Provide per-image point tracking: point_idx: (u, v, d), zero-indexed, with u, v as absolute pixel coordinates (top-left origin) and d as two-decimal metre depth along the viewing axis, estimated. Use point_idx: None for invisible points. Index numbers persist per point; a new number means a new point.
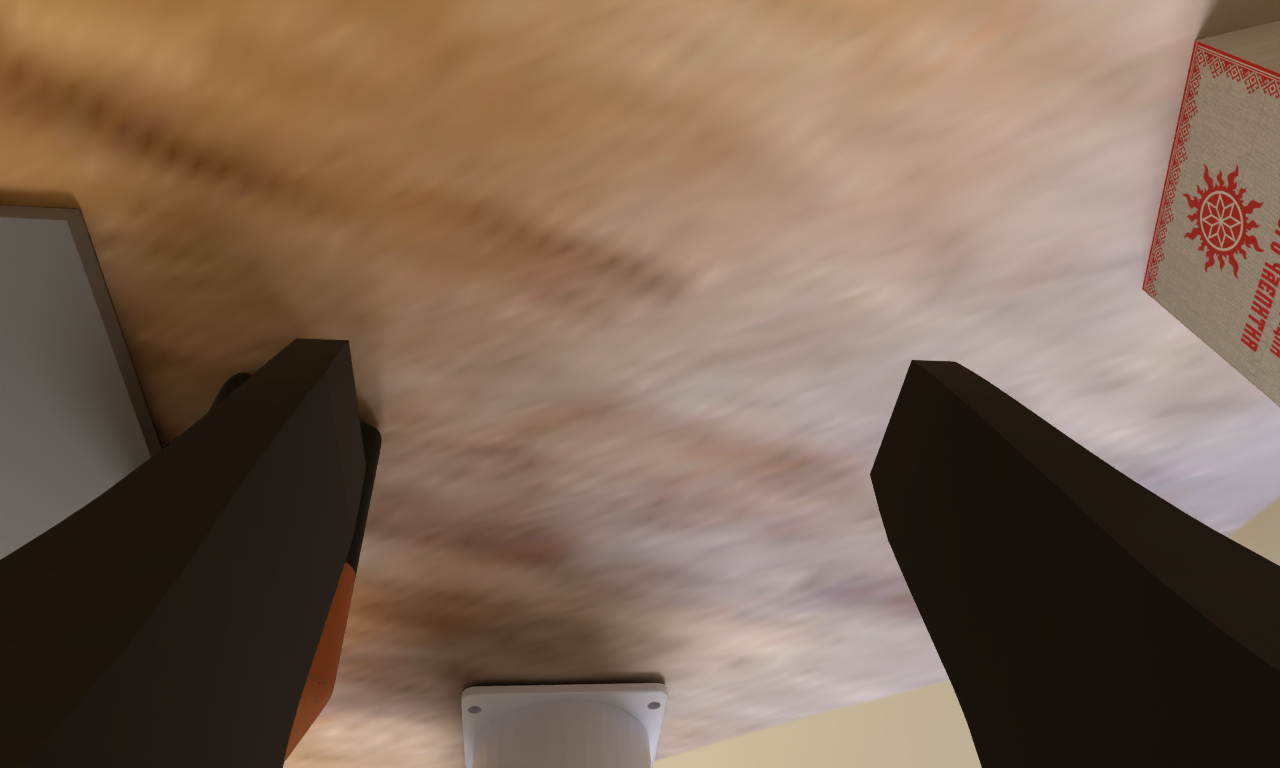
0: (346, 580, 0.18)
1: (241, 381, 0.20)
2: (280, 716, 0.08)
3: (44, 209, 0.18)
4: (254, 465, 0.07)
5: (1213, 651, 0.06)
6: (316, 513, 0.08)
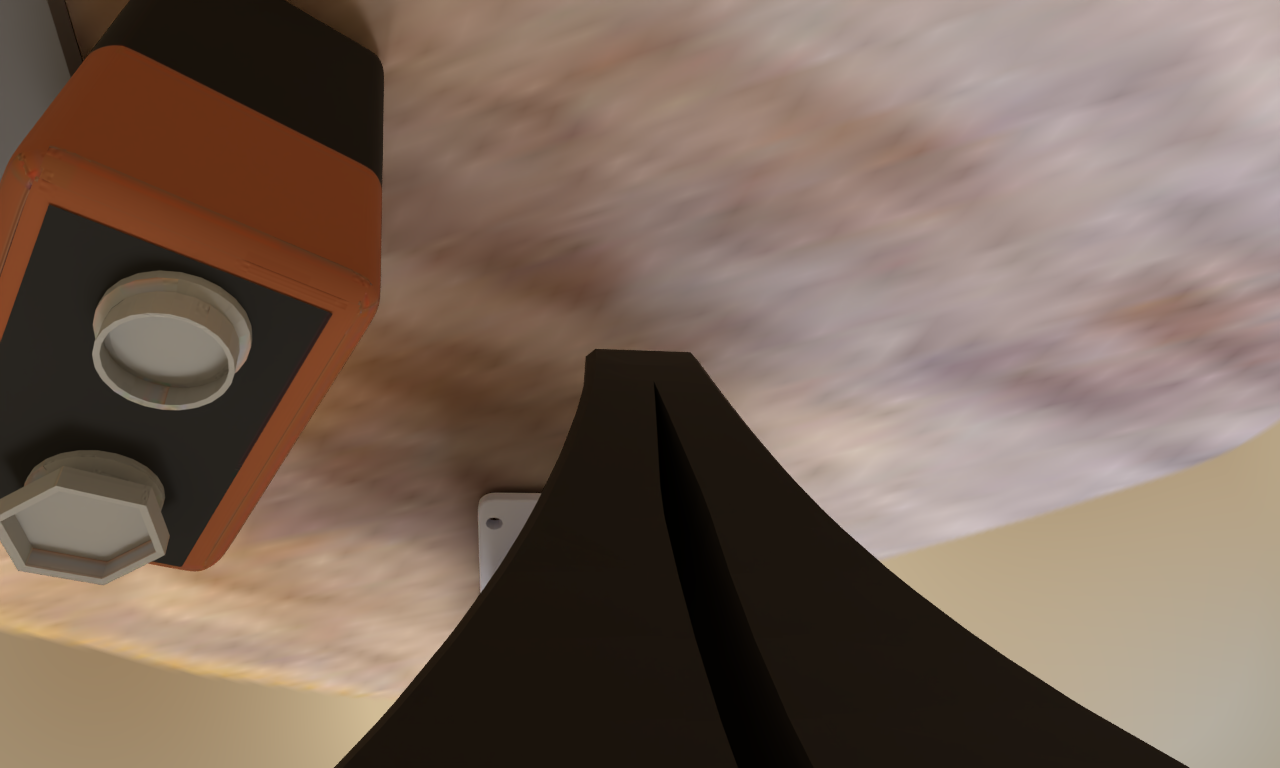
0: (374, 187, 0.13)
1: None
2: None
3: None
4: (655, 471, 0.07)
5: (750, 658, 0.05)
6: None
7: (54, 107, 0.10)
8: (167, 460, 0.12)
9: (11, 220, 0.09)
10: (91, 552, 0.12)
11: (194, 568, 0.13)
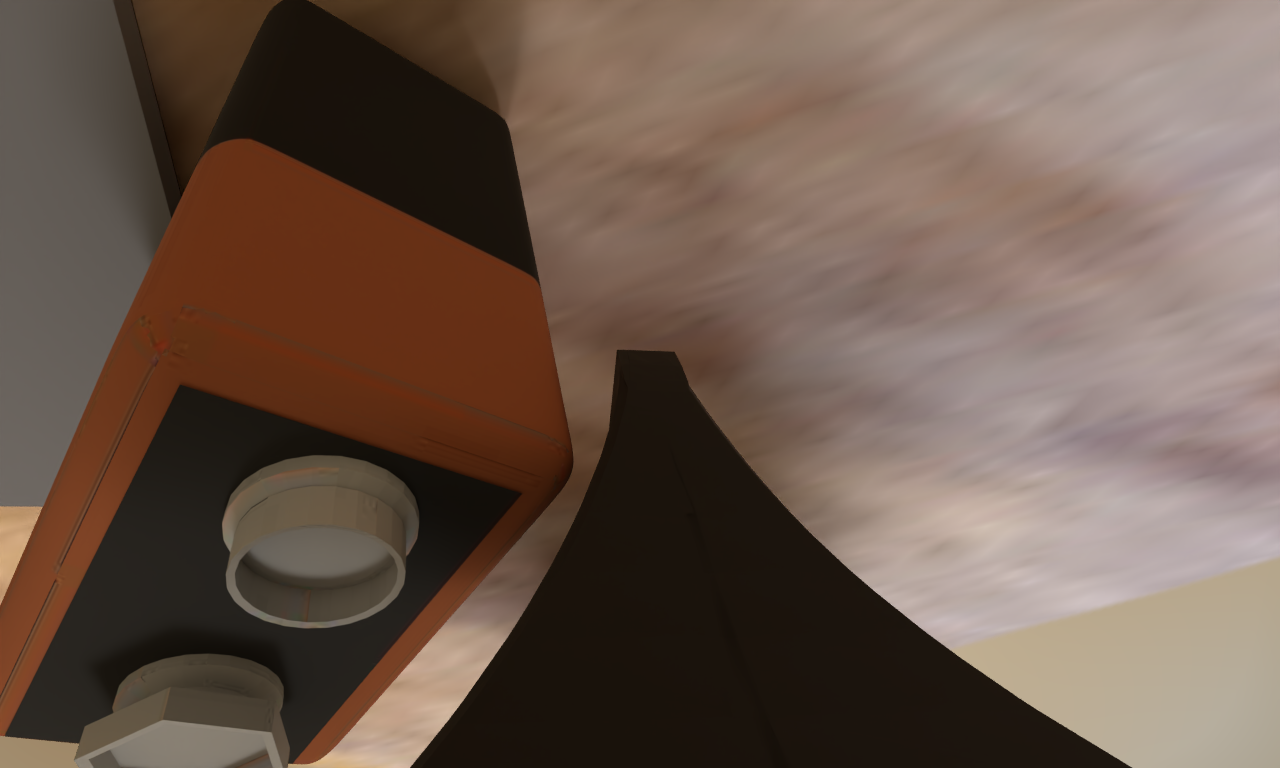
0: (540, 301, 0.10)
1: (298, 4, 0.12)
2: None
3: None
4: (696, 472, 0.07)
5: (703, 659, 0.05)
6: None
7: (179, 237, 0.07)
8: (293, 659, 0.09)
9: (126, 403, 0.06)
10: None
11: (306, 762, 0.11)
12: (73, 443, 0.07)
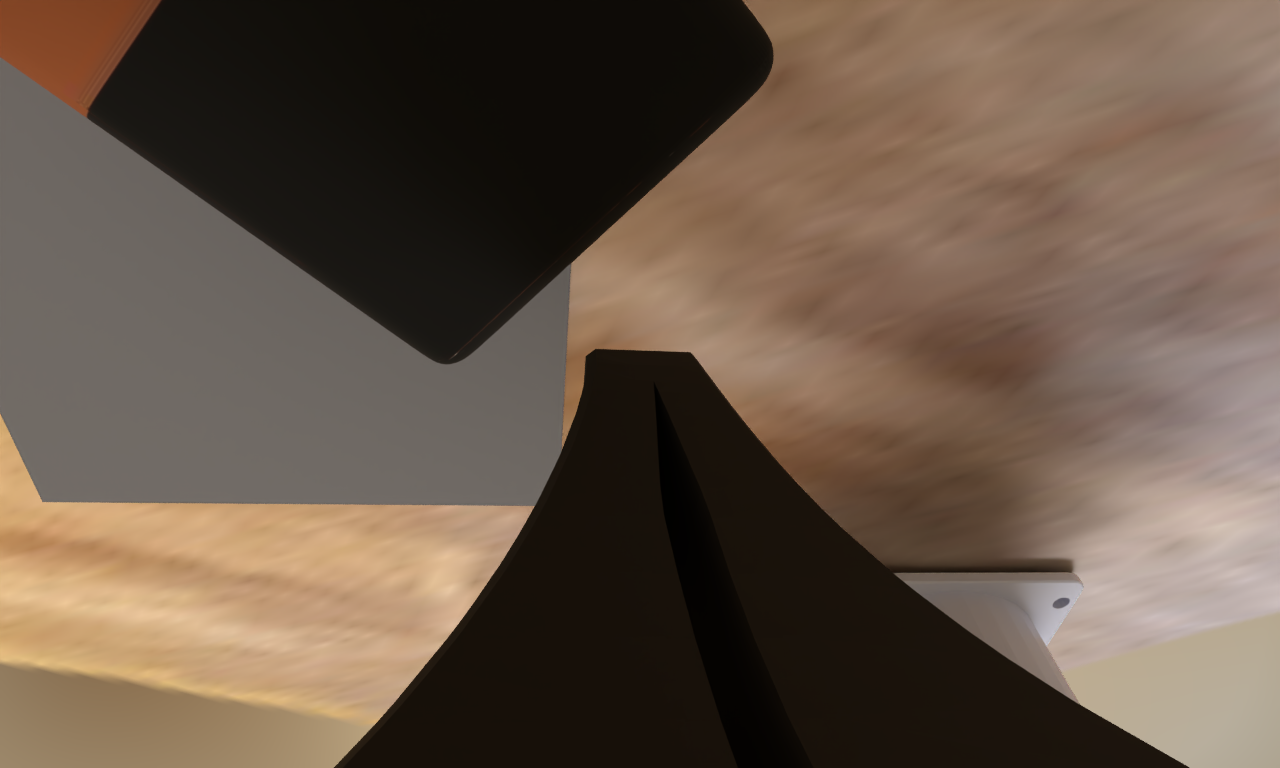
0: None
1: None
2: None
3: None
4: (655, 471, 0.07)
5: (750, 658, 0.05)
6: None
7: None
8: None
9: None
10: None
11: None
12: None
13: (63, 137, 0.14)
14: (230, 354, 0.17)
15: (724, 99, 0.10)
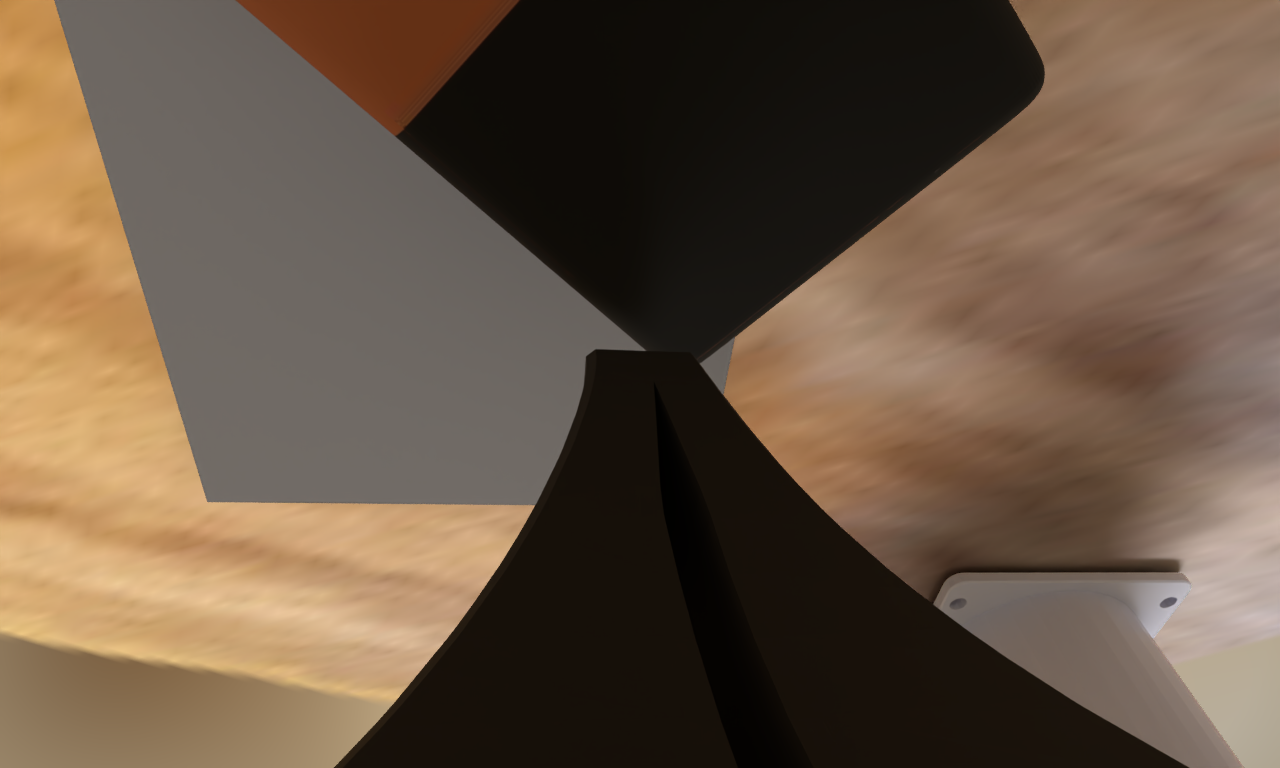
0: None
1: None
2: None
3: None
4: (654, 471, 0.07)
5: (750, 658, 0.05)
6: None
7: None
8: None
9: None
10: None
11: None
12: None
13: (284, 148, 0.14)
14: (409, 358, 0.17)
15: (997, 118, 0.11)
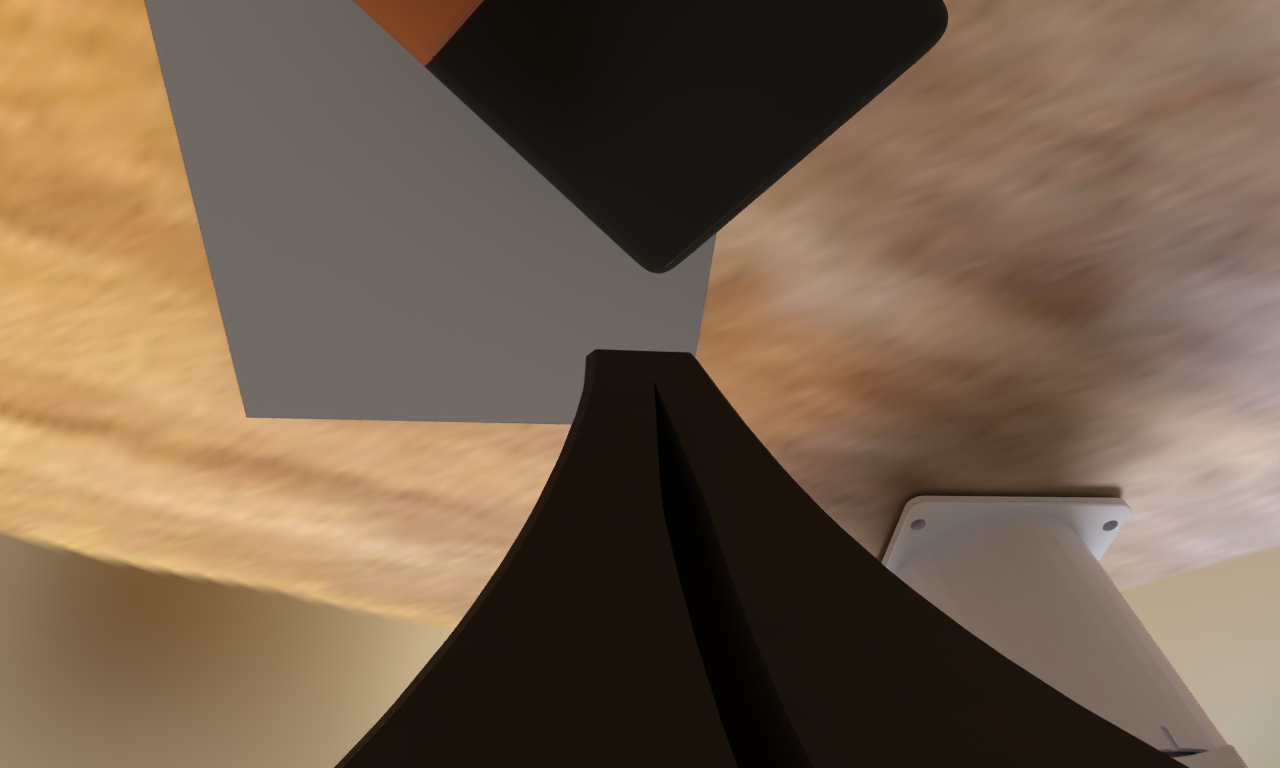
0: None
1: None
2: None
3: None
4: (655, 471, 0.07)
5: (750, 658, 0.05)
6: None
7: None
8: None
9: None
10: None
11: None
12: None
13: (323, 93, 0.17)
14: (426, 284, 0.20)
15: (910, 53, 0.13)
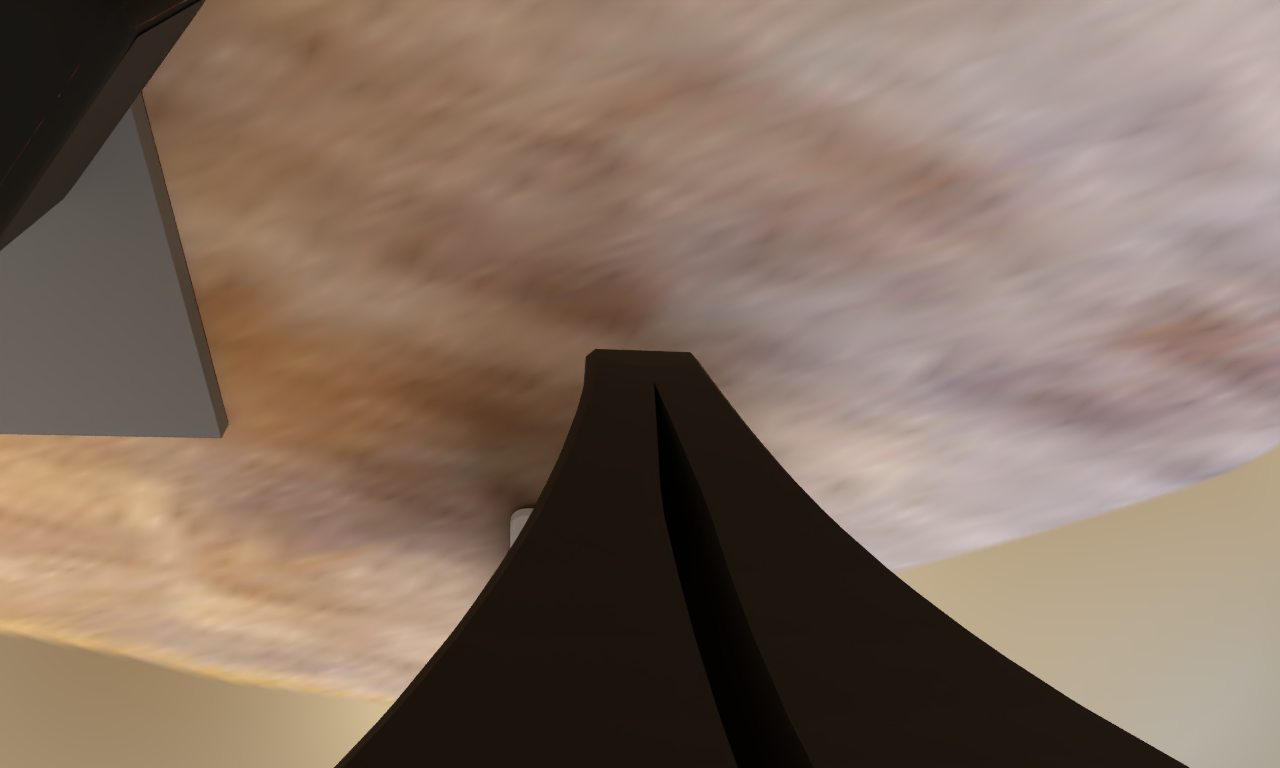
0: None
1: None
2: None
3: None
4: (655, 471, 0.07)
5: (750, 658, 0.05)
6: None
7: None
8: None
9: None
10: None
11: None
12: None
13: None
14: None
15: (85, 48, 0.12)
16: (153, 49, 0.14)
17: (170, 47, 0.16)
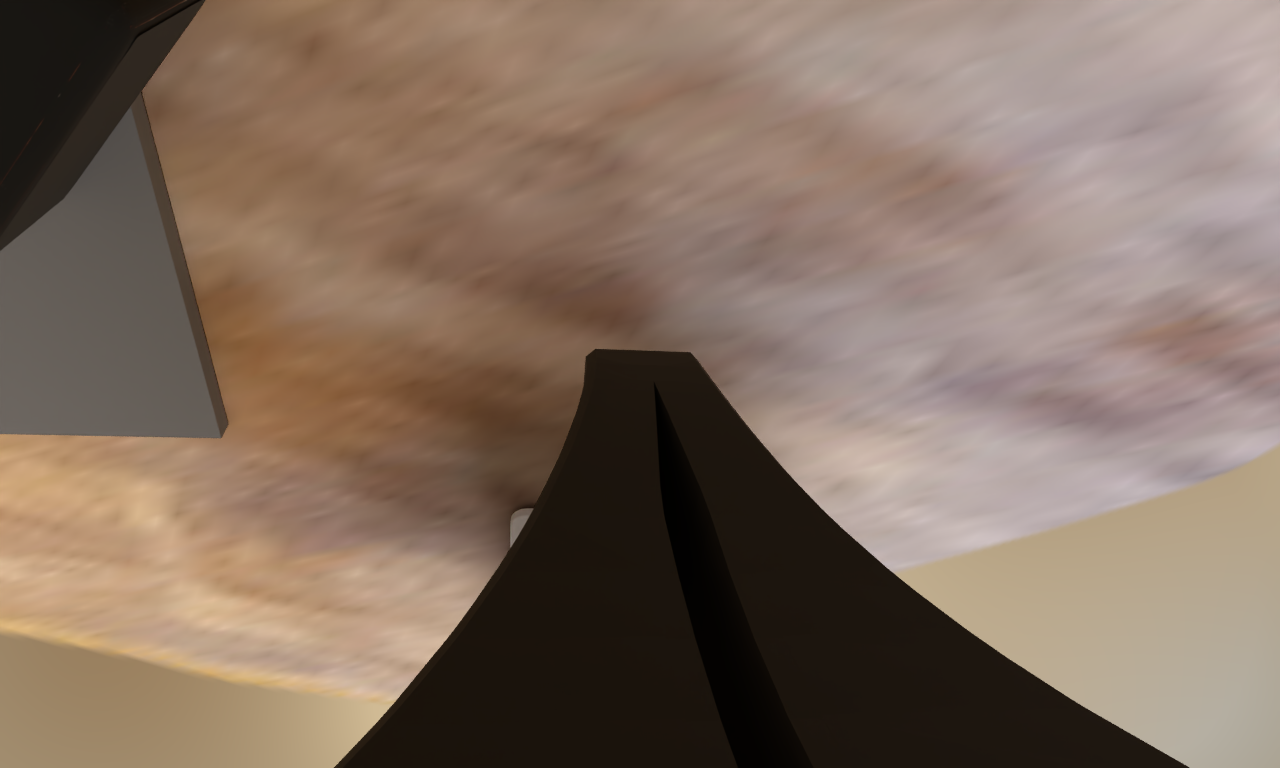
0: None
1: None
2: None
3: None
4: (655, 471, 0.07)
5: (750, 658, 0.05)
6: None
7: None
8: None
9: None
10: None
11: None
12: None
13: None
14: None
15: (84, 48, 0.12)
16: (153, 49, 0.14)
17: (170, 47, 0.16)
